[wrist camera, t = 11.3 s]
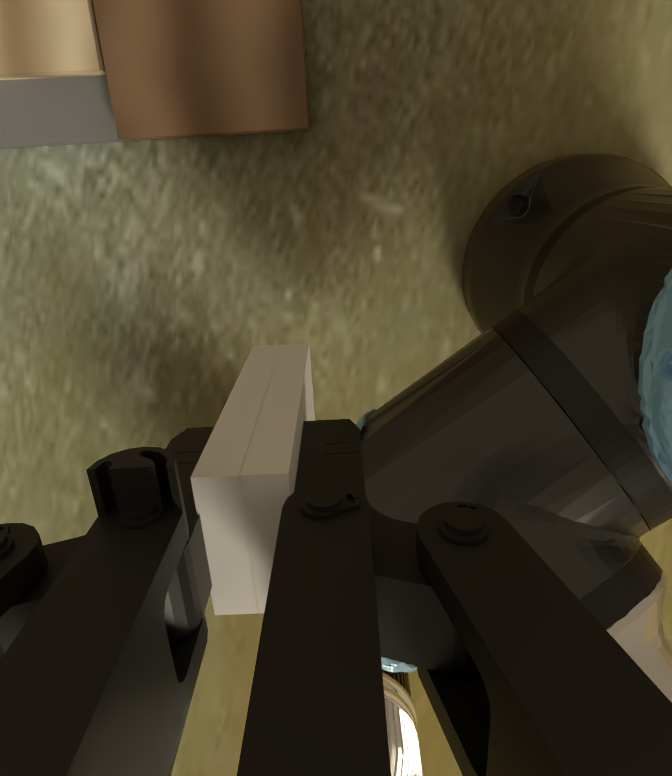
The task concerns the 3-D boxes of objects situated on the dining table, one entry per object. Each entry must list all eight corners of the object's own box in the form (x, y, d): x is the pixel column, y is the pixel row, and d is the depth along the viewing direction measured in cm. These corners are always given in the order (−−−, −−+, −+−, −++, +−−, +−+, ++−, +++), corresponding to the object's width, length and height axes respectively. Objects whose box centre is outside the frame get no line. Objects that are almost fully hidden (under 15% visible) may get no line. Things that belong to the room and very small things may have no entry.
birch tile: (92, -41, 32) (77, -54, 30) (112, 74, 34) (99, 69, 33) (-41, -34, 32) (-64, -46, 30) (-13, 80, 35) (-32, 75, 33)
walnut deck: (292, -141, 31) (289, -166, 29) (310, 130, 36) (308, 127, 34) (84, -127, 31) (64, -150, 29) (132, 140, 36) (118, 138, 34)
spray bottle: (258, 555, 49) (189, 898, 26) (348, 496, 47) (359, 817, 24) (328, 623, 52) (321, 985, 29) (416, 571, 50) (483, 920, 27)
